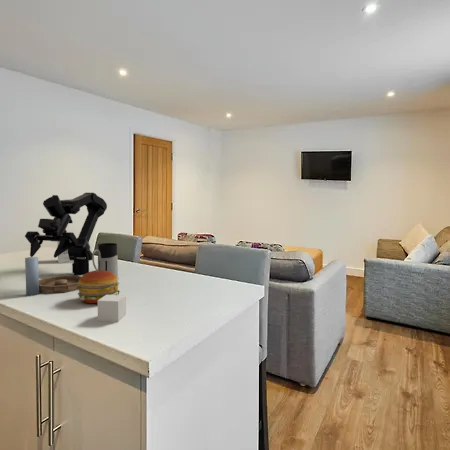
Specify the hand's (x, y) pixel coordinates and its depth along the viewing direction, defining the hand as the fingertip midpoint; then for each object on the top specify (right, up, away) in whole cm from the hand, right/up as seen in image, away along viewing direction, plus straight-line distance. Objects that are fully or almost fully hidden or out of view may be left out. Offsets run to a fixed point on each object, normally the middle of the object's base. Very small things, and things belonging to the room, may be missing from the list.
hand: (42, 256), depth 128 cm
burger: (+25, -14, -10) cm, 30 cm away
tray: (+4, -12, +5) cm, 14 cm away
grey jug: (+17, -12, +15) cm, 26 cm away
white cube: (+35, -16, -27) cm, 47 cm away
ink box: (-16, -8, +56) cm, 58 cm away
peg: (-1, -13, -5) cm, 14 cm away
